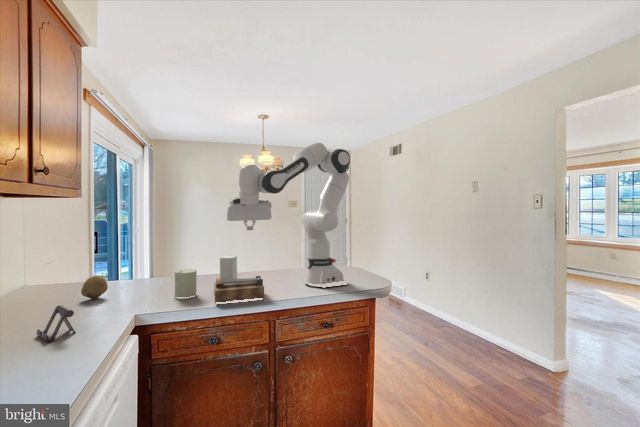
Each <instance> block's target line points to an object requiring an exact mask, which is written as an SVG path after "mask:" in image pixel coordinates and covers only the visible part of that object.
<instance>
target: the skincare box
mask: <svg viewBox="0 0 640 427" xmlns="http://www.w3.org/2000/svg"><path fill="white" fill-rule="evenodd" d="M219 278H221V280H223V279H238V256H237V255H224V256H221V257H220V258H219Z"/></svg>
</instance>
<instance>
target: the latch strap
mask: <svg viewBox="0 0 640 427" xmlns="http://www.w3.org/2000/svg"><path fill="white" fill-rule="evenodd" d="M258 279H260V277H258V278H256V277H250V278H249V277H248V278H237V279H223V280H221V278H220V277H216V278H215V283H216V284H232V283H252V282H258Z"/></svg>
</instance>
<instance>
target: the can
mask: <svg viewBox="0 0 640 427" xmlns="http://www.w3.org/2000/svg"><path fill="white" fill-rule="evenodd" d="M197 271H198V270H197V269H194V268H182V269H177V270H175V271H174V297H190V296H194V295H196V293H197Z"/></svg>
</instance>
